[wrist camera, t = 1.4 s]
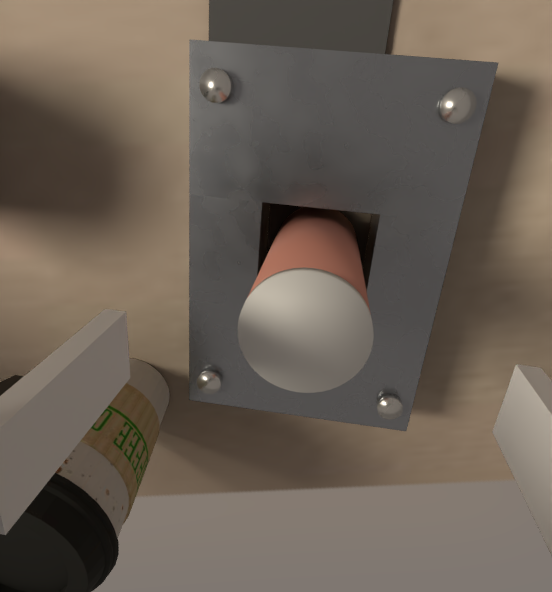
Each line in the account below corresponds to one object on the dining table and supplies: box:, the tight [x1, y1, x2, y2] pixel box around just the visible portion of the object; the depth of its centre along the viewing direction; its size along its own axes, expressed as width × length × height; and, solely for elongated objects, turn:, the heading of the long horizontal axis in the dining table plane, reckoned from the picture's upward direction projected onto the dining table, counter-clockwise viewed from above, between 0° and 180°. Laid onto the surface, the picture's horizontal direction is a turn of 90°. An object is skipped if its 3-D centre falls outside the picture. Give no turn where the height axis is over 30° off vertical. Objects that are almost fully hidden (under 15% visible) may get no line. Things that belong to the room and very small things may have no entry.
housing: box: [189, 40, 498, 431], centre depth 27 cm, size 15×22×5 cm
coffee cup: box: [0, 358, 170, 592], centre depth 29 cm, size 10×10×15 cm
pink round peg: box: [238, 207, 374, 393], centre depth 23 cm, size 5×5×13 cm
